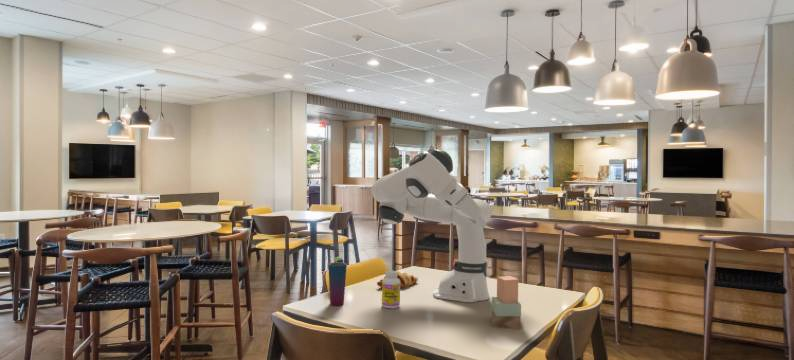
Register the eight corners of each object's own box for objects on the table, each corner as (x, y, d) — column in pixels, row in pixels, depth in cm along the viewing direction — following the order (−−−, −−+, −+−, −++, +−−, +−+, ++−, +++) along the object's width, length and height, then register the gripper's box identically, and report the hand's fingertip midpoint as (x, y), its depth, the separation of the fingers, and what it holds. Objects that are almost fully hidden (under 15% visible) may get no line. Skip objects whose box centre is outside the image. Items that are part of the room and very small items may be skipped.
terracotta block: (504, 303, 146) (504, 280, 145) (496, 298, 150) (497, 276, 150) (517, 302, 147) (518, 279, 147) (509, 297, 152) (510, 275, 152)
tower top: (496, 316, 145) (496, 303, 145) (491, 308, 153) (491, 296, 153) (520, 316, 144) (521, 304, 144) (515, 309, 152) (515, 297, 152)
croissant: (413, 289, 203) (408, 272, 206) (426, 283, 196) (421, 265, 199) (374, 295, 191) (370, 276, 194) (386, 288, 184) (381, 269, 187)
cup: (328, 301, 170) (328, 262, 170) (346, 301, 171) (346, 262, 170) (327, 306, 163) (327, 265, 163) (345, 306, 164) (346, 265, 164)
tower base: (491, 327, 145) (491, 315, 145) (491, 319, 154) (492, 307, 154) (520, 330, 143) (520, 318, 143) (519, 321, 152) (519, 309, 152)
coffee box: (333, 286, 192) (334, 256, 191) (340, 286, 192) (341, 256, 192) (336, 291, 184) (336, 260, 184) (343, 291, 185) (343, 259, 184)
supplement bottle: (381, 308, 162) (382, 273, 162) (382, 303, 169) (382, 269, 168) (399, 309, 162) (400, 273, 162) (399, 303, 169) (400, 269, 168)
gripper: (437, 198, 152) (464, 227, 154) (451, 202, 132) (482, 235, 133) (450, 185, 153) (477, 214, 154) (466, 187, 133) (497, 220, 134)
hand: (480, 224), depth 144 cm, fingers open, 8 cm apart
